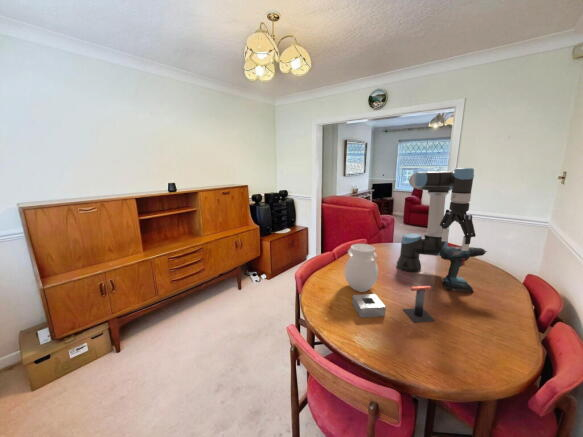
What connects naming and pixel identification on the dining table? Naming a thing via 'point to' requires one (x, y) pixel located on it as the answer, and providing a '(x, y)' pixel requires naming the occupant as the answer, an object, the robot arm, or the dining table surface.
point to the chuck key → (420, 299)
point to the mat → (414, 318)
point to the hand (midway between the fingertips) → (454, 245)
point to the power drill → (457, 260)
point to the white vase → (361, 267)
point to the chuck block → (368, 305)
